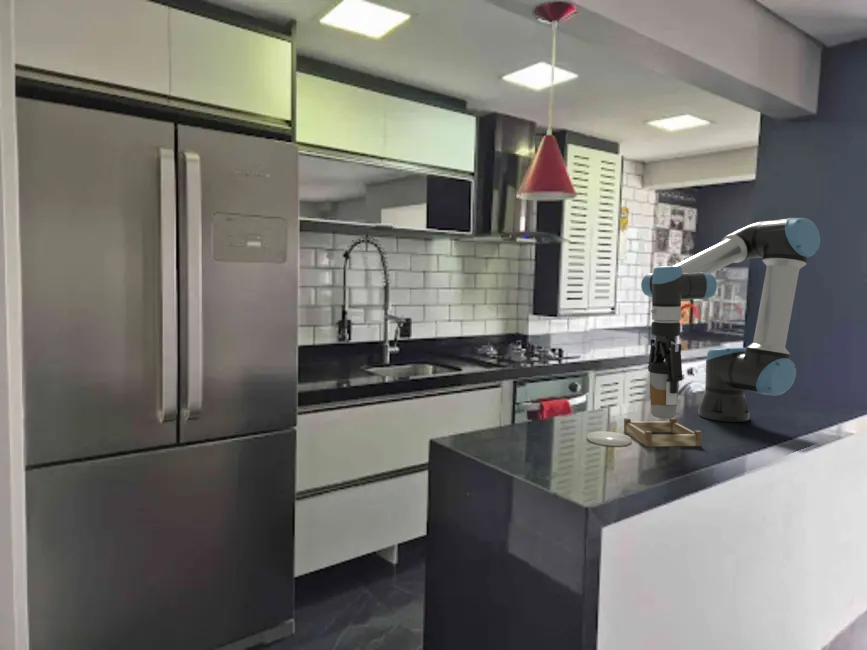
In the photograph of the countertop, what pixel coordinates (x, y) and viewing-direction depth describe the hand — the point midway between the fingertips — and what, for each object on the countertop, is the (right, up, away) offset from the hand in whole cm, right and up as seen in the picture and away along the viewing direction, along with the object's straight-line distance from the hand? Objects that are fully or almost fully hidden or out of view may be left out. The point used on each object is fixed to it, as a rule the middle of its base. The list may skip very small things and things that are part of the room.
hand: (663, 400), depth 161 cm
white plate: (-16, -11, -1) cm, 19 cm away
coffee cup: (0, -5, 0) cm, 5 cm away
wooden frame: (-1, -11, +1) cm, 11 cm away
